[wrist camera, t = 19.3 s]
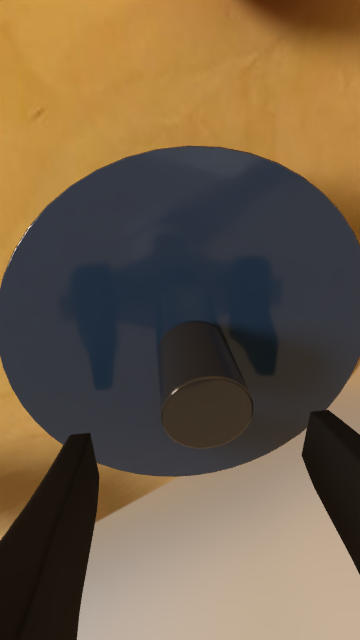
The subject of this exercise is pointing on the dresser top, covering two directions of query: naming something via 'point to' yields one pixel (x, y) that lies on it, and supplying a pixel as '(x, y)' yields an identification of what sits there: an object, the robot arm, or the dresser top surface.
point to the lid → (182, 310)
